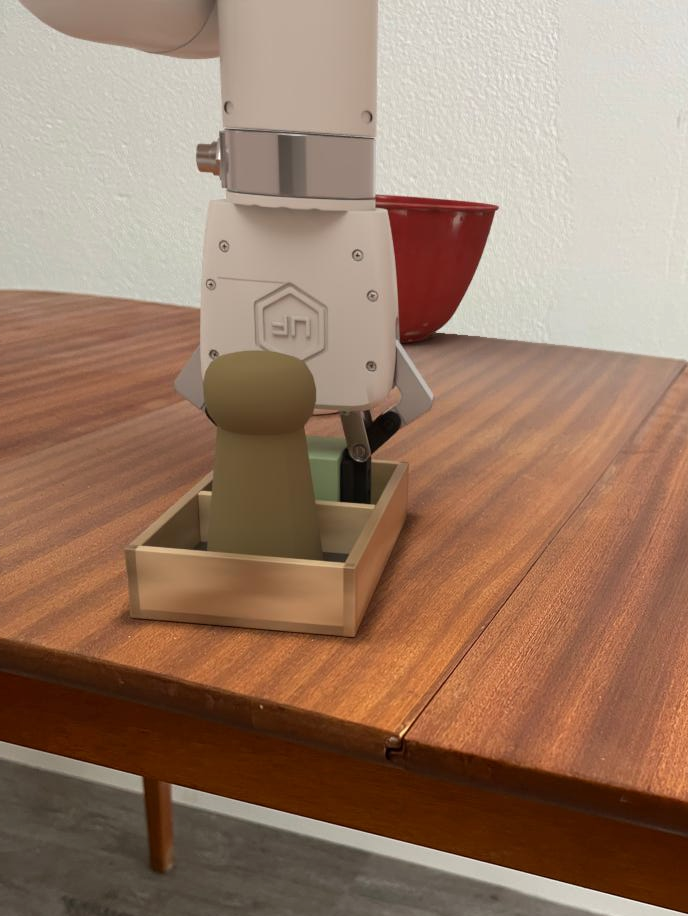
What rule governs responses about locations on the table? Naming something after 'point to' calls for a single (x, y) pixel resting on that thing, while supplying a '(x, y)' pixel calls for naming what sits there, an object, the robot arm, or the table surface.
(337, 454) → the green block
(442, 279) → the mixing bowl
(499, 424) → the table surface
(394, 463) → the tray
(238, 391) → the olive pawn
